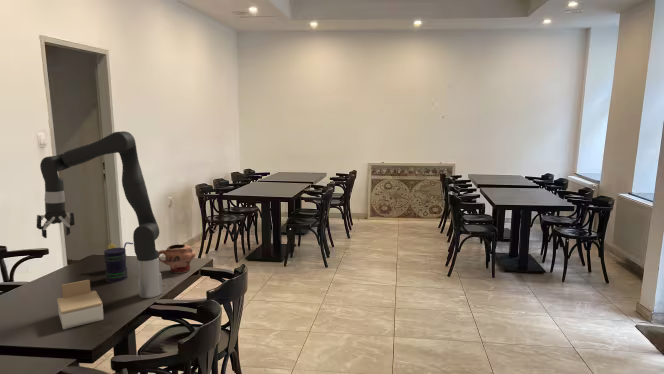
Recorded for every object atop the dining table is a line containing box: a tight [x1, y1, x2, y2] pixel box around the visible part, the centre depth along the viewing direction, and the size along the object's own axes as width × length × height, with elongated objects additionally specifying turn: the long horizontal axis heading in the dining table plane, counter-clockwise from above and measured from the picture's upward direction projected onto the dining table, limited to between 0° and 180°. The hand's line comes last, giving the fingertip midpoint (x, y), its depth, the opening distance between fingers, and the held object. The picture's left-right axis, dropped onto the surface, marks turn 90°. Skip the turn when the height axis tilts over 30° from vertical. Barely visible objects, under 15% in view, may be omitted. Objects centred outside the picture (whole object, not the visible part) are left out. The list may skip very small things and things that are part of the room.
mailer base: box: [57, 303, 105, 330], centre depth 176 cm, size 14×16×6 cm
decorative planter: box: [158, 243, 197, 274], centre depth 231 cm, size 20×12×14 cm, turn 103°
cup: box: [106, 241, 134, 252], centre depth 234 cm, size 14×8×15 cm, turn 95°
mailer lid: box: [56, 279, 103, 314], centre depth 175 cm, size 14×16×6 cm
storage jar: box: [103, 247, 128, 283], centre depth 220 cm, size 10×10×15 cm
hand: (56, 236), depth 195 cm, fingers open, 8 cm apart
